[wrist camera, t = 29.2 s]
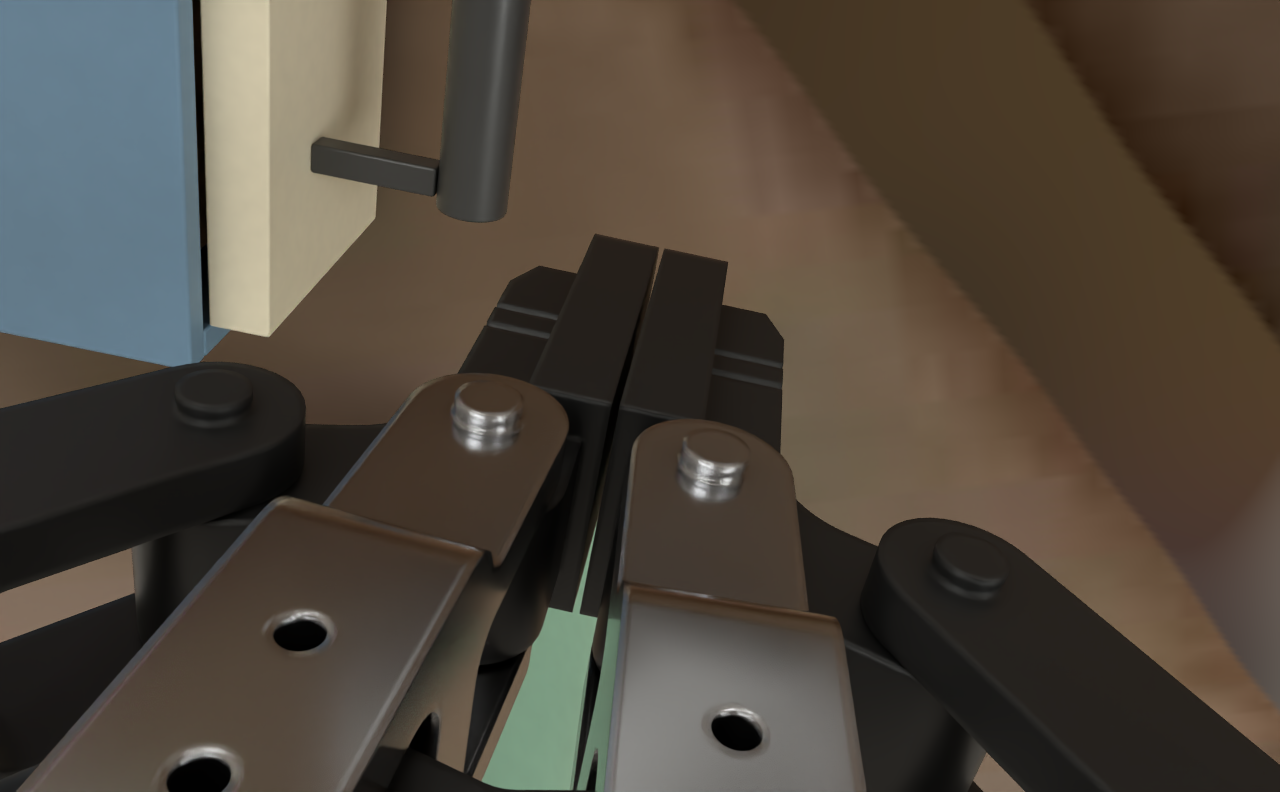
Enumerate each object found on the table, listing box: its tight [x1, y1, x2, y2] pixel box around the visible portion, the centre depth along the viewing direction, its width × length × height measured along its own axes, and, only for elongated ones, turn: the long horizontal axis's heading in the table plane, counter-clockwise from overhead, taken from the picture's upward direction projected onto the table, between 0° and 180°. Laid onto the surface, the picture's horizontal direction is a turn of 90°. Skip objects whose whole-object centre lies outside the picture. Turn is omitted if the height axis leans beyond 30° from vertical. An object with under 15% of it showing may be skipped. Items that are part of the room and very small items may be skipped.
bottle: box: [482, 523, 597, 790], centre depth 24 cm, size 5×5×17 cm
